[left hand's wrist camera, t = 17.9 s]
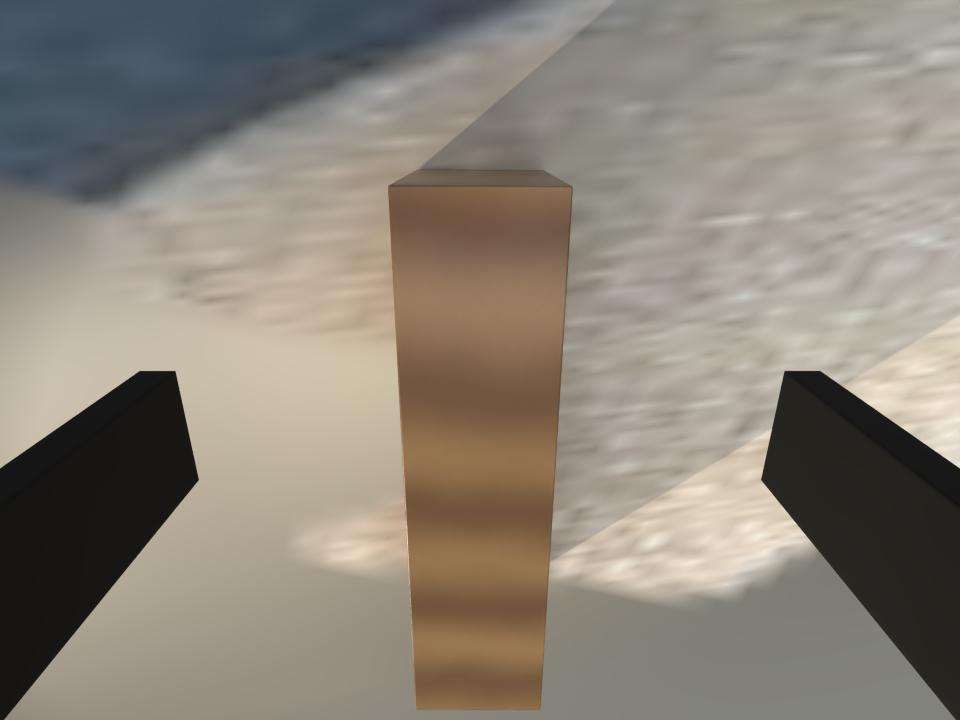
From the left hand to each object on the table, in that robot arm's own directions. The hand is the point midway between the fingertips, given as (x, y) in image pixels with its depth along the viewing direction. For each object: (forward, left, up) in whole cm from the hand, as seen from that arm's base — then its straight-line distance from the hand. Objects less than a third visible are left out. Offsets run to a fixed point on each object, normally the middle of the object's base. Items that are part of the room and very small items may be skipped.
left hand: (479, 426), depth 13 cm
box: (0, -11, -24) cm, 26 cm away
